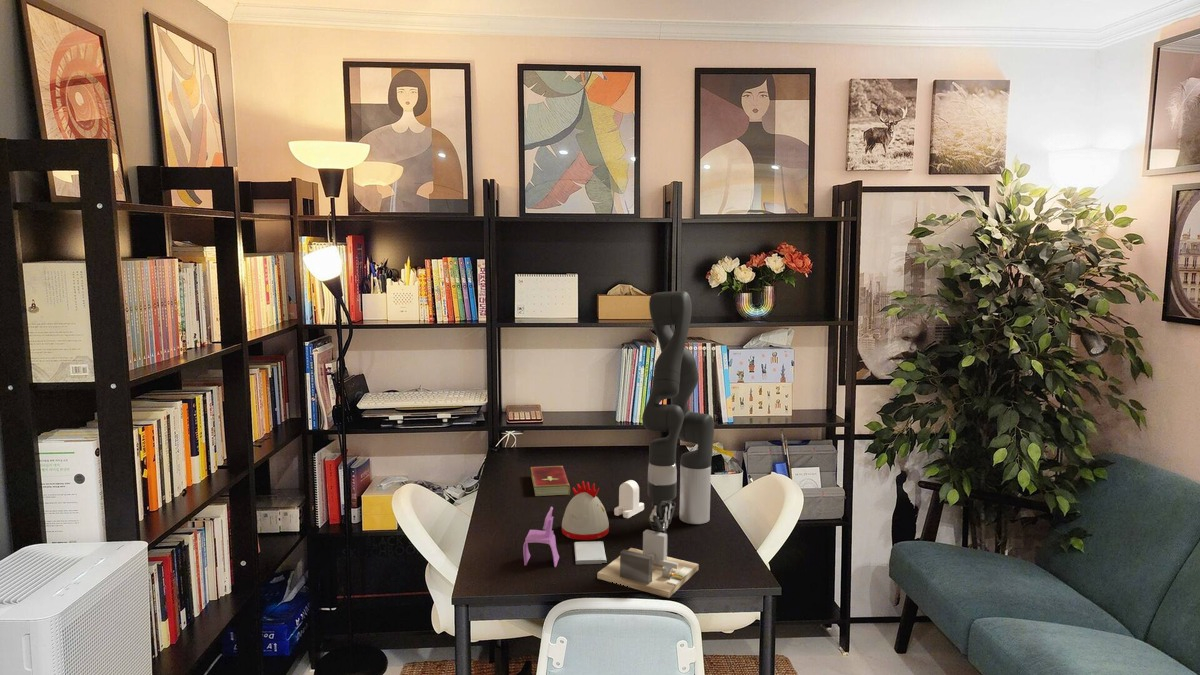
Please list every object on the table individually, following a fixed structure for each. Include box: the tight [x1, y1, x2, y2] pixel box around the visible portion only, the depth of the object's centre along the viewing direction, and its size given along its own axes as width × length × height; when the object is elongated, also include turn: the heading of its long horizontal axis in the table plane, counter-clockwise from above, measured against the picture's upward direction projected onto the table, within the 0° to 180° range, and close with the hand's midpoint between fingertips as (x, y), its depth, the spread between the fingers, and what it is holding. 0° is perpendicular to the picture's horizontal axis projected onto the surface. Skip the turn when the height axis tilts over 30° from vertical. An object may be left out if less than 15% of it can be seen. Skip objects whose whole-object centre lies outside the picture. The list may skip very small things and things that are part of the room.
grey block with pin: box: [662, 566, 683, 578], centre depth 188 cm, size 2×5×2 cm, turn 60°
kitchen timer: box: [561, 480, 610, 541], centre depth 221 cm, size 14×14×15 cm
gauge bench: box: [597, 547, 700, 599], centre depth 194 cm, size 18×20×8 cm
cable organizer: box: [613, 479, 645, 519], centre depth 237 cm, size 5×10×10 cm, turn 145°
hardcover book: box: [529, 465, 571, 497], centre depth 262 cm, size 12×21×4 cm, turn 9°
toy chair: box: [522, 506, 560, 568], centre depth 200 cm, size 8×9×15 cm
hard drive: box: [573, 540, 607, 565], centre depth 206 cm, size 2×8×12 cm
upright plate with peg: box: [642, 529, 679, 569], centre depth 193 cm, size 7×10×8 cm
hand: (661, 542), depth 200 cm, fingers closed
